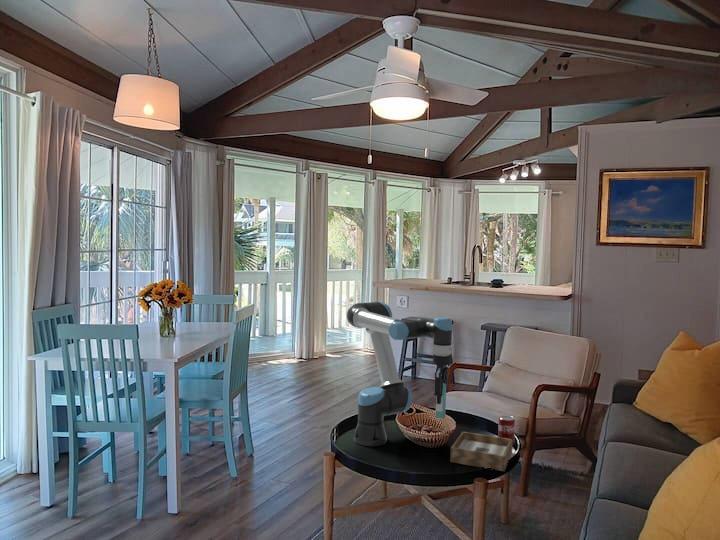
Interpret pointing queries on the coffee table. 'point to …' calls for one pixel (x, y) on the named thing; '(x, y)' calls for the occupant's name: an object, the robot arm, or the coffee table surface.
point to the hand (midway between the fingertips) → (440, 409)
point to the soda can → (506, 427)
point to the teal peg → (442, 414)
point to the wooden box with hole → (481, 451)
